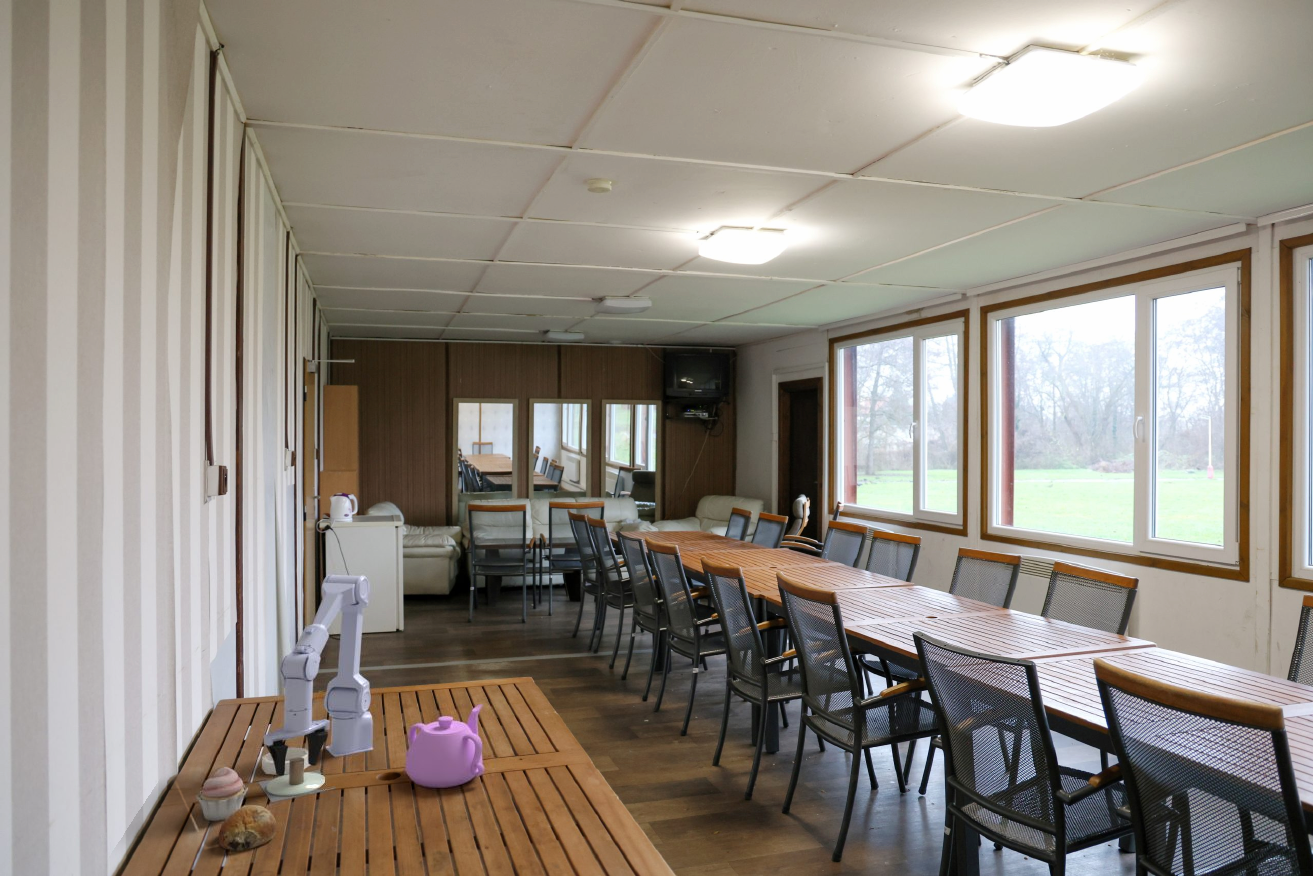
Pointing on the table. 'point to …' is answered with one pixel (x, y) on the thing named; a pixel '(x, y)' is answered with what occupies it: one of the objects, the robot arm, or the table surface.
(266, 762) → the bowl
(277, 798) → the mat
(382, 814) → the table surface
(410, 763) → the teapot
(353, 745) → the robot arm
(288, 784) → the lid
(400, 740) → the table surface
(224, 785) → the cupcake
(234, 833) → the bread roll
